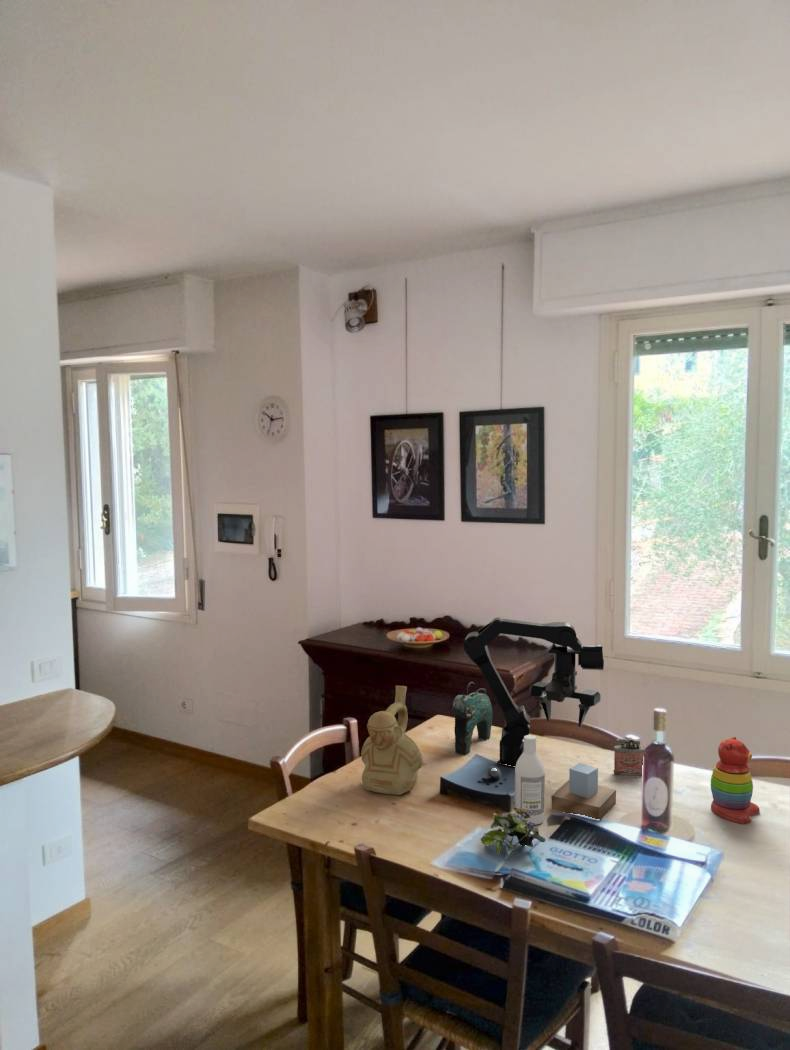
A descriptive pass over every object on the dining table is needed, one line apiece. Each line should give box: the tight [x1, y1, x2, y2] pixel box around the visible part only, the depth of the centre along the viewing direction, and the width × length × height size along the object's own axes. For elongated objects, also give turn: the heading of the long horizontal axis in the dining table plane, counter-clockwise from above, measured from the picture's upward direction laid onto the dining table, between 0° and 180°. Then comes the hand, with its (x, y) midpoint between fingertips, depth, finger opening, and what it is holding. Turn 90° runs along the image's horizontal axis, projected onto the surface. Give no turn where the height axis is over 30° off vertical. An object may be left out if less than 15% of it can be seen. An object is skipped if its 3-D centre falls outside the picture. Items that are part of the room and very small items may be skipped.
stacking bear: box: [710, 736, 761, 825], centre depth 186 cm, size 11×10×18 cm
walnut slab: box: [550, 779, 617, 820], centre depth 190 cm, size 12×12×4 cm
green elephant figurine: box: [451, 681, 493, 756], centre depth 232 cm, size 20×6×20 cm, turn 147°
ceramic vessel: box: [360, 685, 424, 796], centre depth 202 cm, size 17×20×25 cm
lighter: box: [613, 737, 646, 778], centre depth 210 cm, size 8×3×10 cm, turn 84°
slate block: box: [568, 762, 599, 798], centre depth 190 cm, size 5×5×6 cm
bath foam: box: [514, 734, 546, 826], centre depth 183 cm, size 7×7×20 cm
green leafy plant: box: [480, 806, 546, 858], centre depth 167 cm, size 11×11×12 cm
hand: (564, 723), depth 215 cm, fingers open, 9 cm apart
